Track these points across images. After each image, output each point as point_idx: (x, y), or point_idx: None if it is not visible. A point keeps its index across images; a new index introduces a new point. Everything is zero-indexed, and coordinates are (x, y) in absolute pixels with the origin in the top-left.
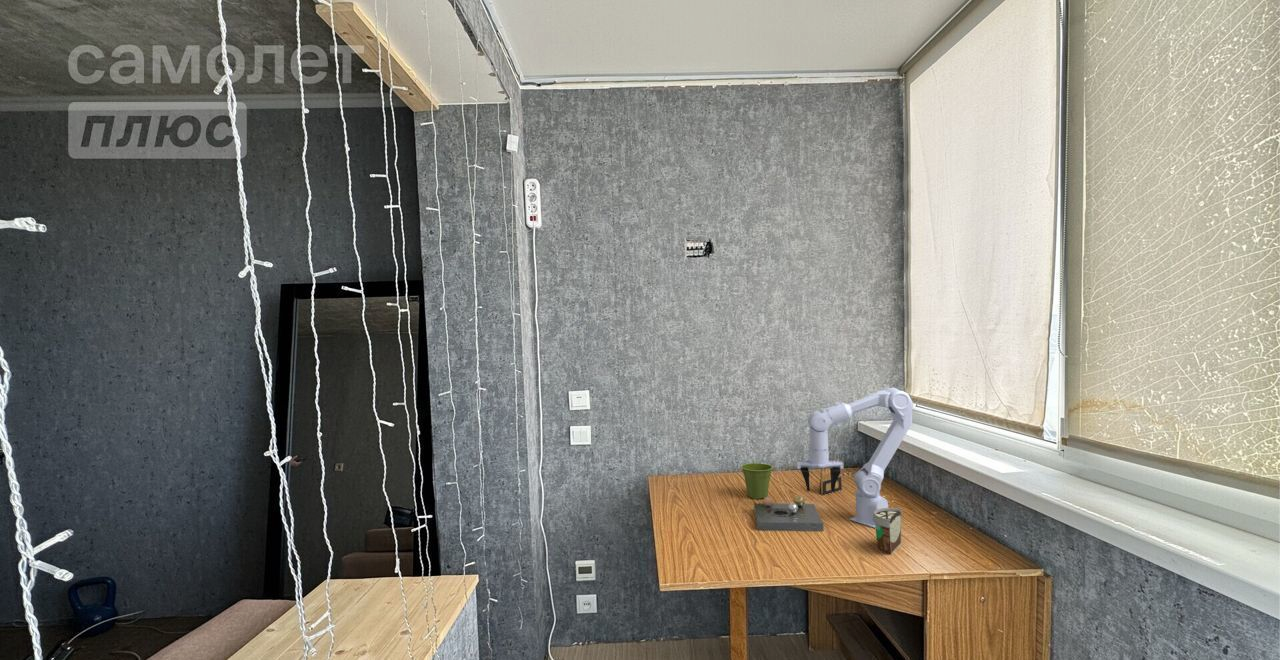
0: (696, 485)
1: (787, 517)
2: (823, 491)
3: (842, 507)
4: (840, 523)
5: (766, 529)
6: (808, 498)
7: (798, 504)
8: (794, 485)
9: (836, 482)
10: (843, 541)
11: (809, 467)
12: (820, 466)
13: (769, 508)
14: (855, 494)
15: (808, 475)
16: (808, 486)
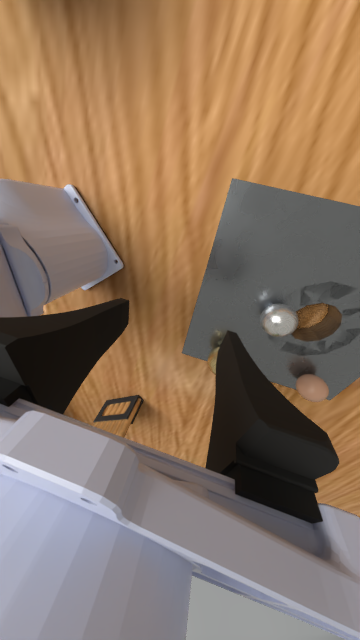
0: (326, 491)
1: (327, 276)
2: (136, 401)
3: (122, 341)
4: (153, 249)
5: None
6: (168, 393)
7: None
8: (169, 434)
9: (106, 413)
10: (212, 10)
11: (214, 483)
12: (89, 454)
13: (318, 361)
14: (53, 283)
15: (254, 394)
16: (237, 343)
